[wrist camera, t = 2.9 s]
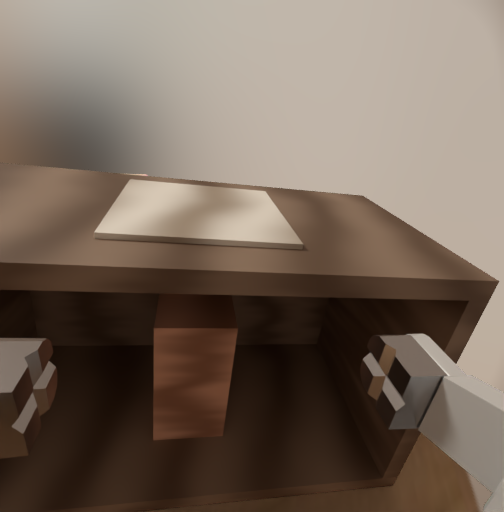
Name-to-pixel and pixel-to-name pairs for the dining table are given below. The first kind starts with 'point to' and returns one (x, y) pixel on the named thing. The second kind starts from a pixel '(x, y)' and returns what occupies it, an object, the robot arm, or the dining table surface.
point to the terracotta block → (192, 364)
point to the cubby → (247, 342)
